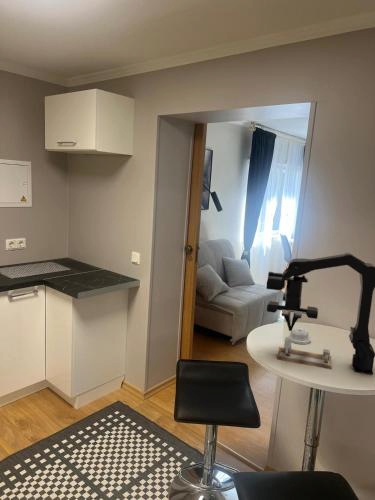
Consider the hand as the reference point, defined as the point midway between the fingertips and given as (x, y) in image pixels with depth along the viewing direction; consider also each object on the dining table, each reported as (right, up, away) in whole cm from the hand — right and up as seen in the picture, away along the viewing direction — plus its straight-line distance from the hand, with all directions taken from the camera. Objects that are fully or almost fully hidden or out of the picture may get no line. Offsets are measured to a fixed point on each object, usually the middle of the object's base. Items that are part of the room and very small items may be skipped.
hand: (290, 330), depth 145 cm
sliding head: (-1, -9, +3) cm, 9 cm away
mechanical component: (+9, -9, +19) cm, 23 cm away
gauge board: (+6, -11, +1) cm, 13 cm away
